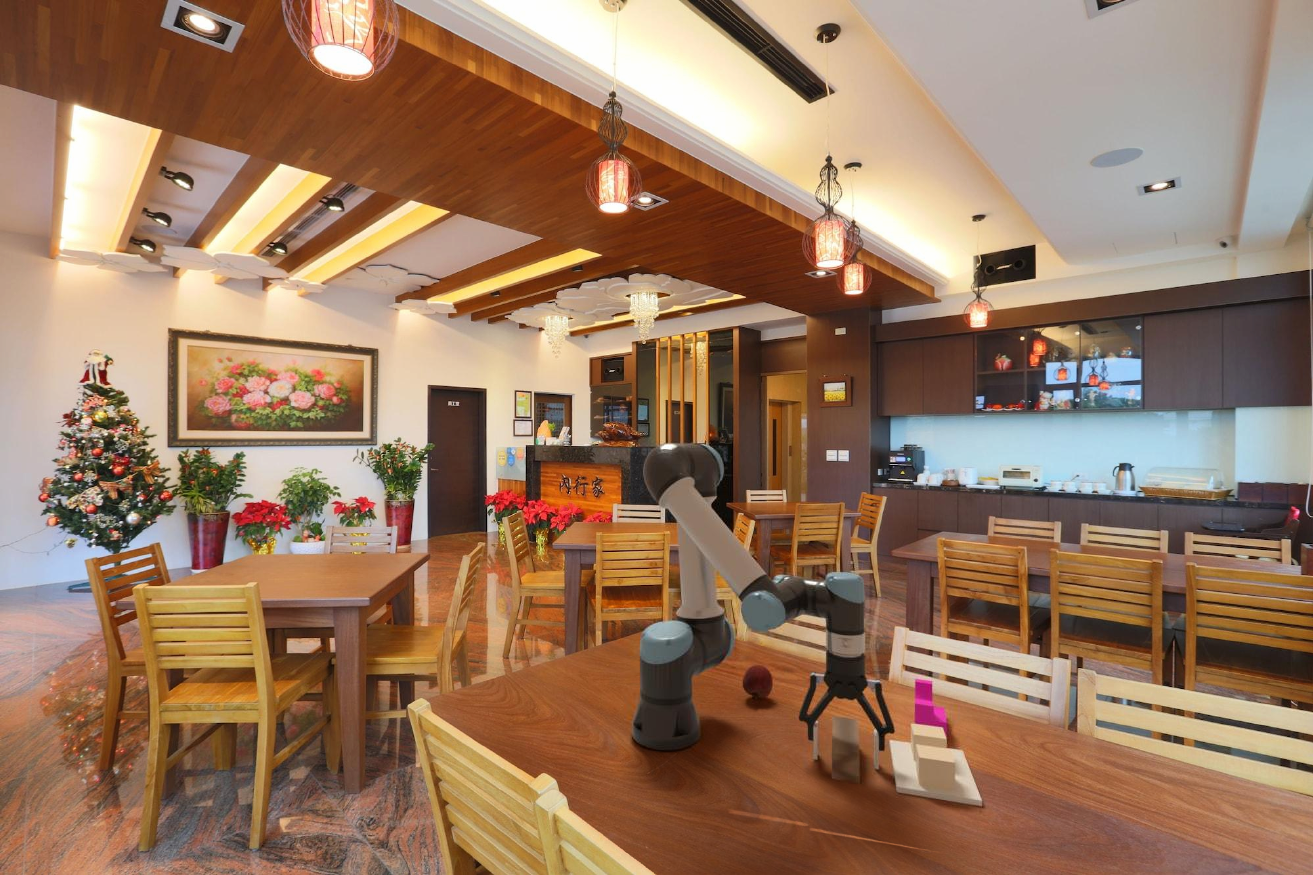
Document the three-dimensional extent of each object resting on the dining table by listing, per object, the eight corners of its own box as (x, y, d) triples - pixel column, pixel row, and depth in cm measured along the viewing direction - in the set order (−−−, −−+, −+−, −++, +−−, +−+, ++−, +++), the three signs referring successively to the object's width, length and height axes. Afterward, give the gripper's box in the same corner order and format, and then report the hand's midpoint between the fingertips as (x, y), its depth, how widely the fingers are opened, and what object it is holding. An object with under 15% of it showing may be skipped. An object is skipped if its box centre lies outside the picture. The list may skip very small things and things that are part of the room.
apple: (779, 698, 148) (779, 666, 148) (756, 706, 144) (756, 673, 144) (758, 688, 154) (758, 658, 154) (736, 695, 150) (736, 664, 150)
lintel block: (831, 779, 113) (831, 748, 113) (832, 744, 126) (832, 715, 126) (859, 784, 111) (859, 752, 111) (857, 747, 125) (857, 719, 125)
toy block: (946, 743, 127) (946, 708, 127) (914, 737, 129) (914, 703, 129) (943, 714, 140) (943, 682, 140) (915, 709, 143) (915, 678, 143)
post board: (896, 791, 108) (896, 759, 109) (889, 744, 126) (889, 716, 126) (982, 806, 104) (982, 772, 104) (962, 755, 121) (962, 725, 121)
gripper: (784, 651, 119) (784, 760, 119) (910, 664, 112) (910, 780, 112) (787, 639, 126) (788, 742, 126) (906, 651, 119) (906, 760, 119)
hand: (845, 760), depth 119 cm, fingers open, 11 cm apart
